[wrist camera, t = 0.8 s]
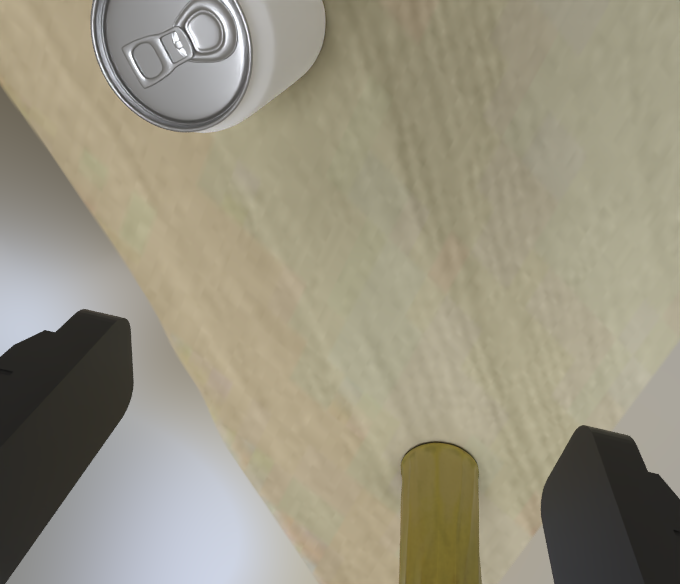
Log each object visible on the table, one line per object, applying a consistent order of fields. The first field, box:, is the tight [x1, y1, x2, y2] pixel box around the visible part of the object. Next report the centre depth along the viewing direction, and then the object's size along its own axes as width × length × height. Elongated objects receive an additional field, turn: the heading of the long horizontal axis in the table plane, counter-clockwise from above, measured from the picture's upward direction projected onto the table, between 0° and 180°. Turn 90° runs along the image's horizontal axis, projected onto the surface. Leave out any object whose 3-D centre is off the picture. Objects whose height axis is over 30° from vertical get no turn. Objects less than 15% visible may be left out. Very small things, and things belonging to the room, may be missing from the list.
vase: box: [399, 443, 482, 584], centre depth 37 cm, size 6×6×14 cm
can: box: [91, 0, 325, 133], centre depth 23 cm, size 6×6×12 cm
